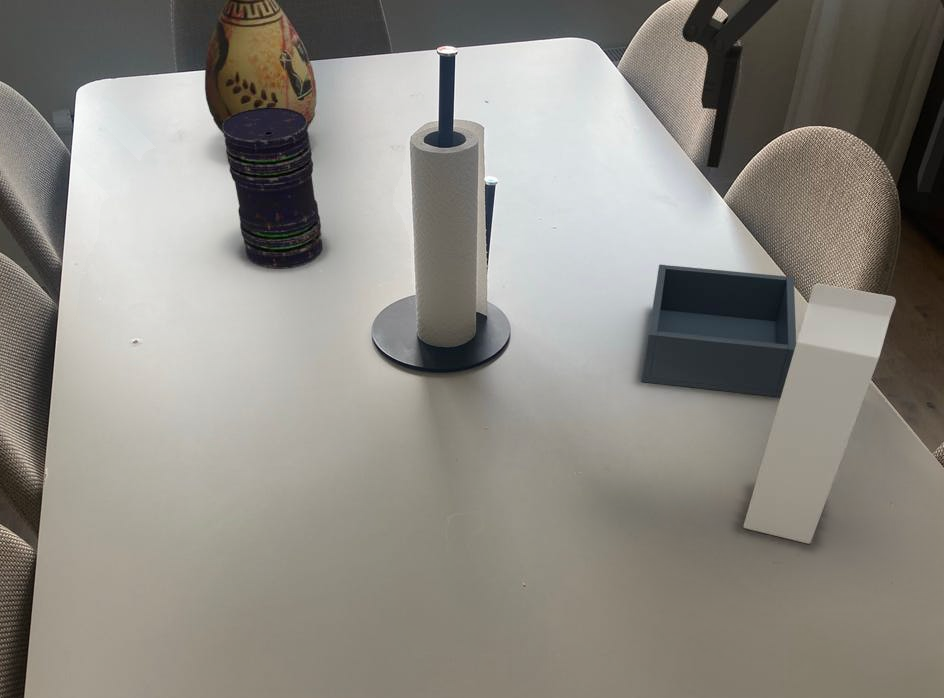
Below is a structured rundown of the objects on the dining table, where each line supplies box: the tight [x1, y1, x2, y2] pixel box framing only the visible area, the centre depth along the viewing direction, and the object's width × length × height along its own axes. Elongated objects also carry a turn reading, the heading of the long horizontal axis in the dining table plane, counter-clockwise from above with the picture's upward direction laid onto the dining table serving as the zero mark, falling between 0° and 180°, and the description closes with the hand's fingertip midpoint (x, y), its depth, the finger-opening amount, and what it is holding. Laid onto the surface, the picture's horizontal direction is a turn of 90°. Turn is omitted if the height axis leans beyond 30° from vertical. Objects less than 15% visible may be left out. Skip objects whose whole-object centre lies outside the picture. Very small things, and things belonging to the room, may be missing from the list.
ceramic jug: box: [204, 0, 317, 135], centre depth 128 cm, size 17×15×30 cm
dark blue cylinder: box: [222, 107, 324, 270], centre depth 114 cm, size 10×10×15 cm
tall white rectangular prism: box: [742, 283, 897, 545], centre depth 78 cm, size 6×6×22 cm
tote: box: [641, 264, 797, 398], centre depth 101 cm, size 15×15×6 cm
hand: (816, 171), depth 63 cm, fingers open, 13 cm apart
